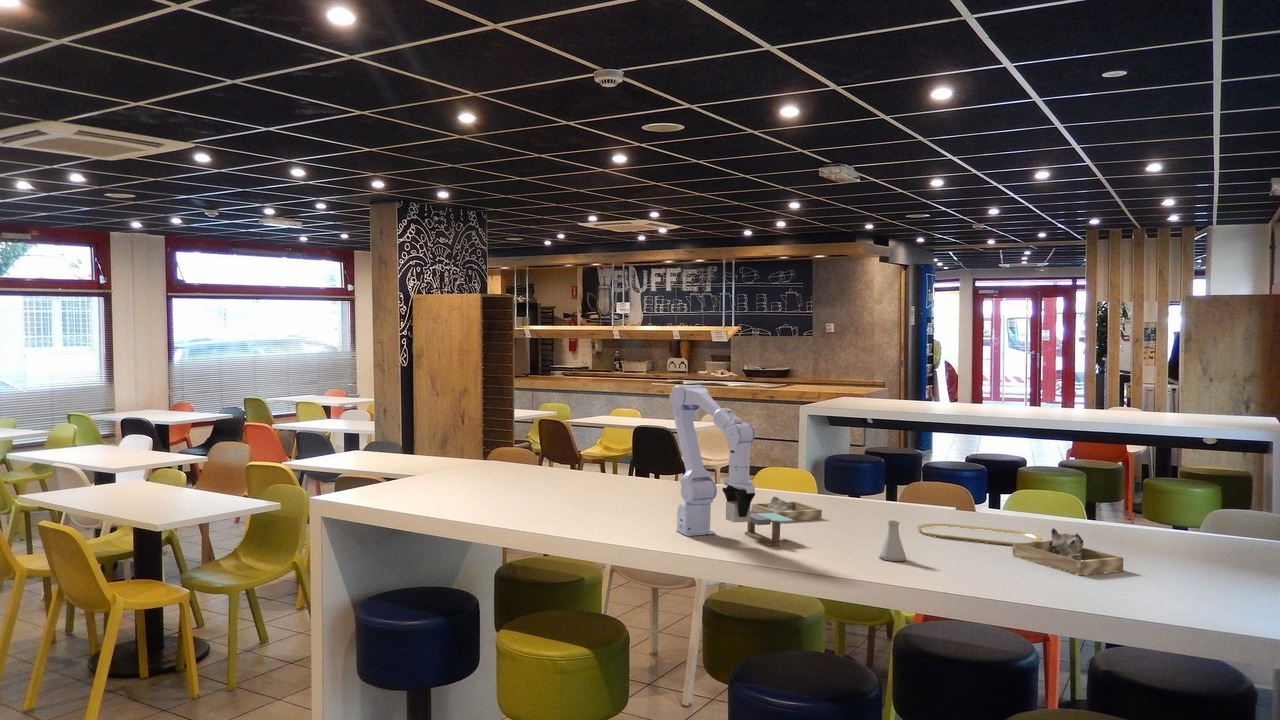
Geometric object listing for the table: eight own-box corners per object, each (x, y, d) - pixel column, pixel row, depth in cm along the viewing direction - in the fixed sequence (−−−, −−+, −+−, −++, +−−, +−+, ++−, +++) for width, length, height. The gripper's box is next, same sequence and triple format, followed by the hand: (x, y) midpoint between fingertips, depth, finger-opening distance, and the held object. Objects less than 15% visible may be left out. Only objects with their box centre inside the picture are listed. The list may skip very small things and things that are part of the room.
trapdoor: (759, 525, 248) (759, 520, 248) (739, 517, 259) (739, 512, 259) (793, 523, 252) (794, 518, 252) (772, 516, 263) (772, 510, 263)
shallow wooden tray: (1079, 575, 222) (1080, 561, 222) (1012, 555, 242) (1012, 543, 242) (1123, 571, 228) (1123, 557, 228) (1053, 552, 248) (1054, 539, 248)
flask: (875, 555, 240) (876, 518, 240) (902, 556, 239) (903, 519, 239) (882, 561, 232) (883, 523, 232) (910, 562, 232) (911, 524, 232)
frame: (773, 546, 247) (773, 522, 247) (743, 534, 263) (744, 511, 262) (781, 545, 248) (782, 521, 248) (751, 533, 264) (752, 510, 263)
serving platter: (921, 526, 283) (922, 521, 283) (1042, 538, 268) (1042, 533, 268) (913, 537, 266) (913, 531, 266) (1040, 551, 251) (1041, 545, 251)
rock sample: (754, 504, 291) (772, 486, 293) (757, 516, 296) (775, 498, 299) (777, 522, 284) (796, 503, 287) (781, 534, 290) (798, 515, 293)
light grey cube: (734, 522, 246) (734, 504, 245) (725, 519, 250) (726, 501, 250) (750, 521, 247) (750, 503, 247) (741, 518, 252) (741, 500, 252)
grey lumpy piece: (1094, 568, 226) (1084, 529, 227) (1055, 573, 229) (1046, 534, 230) (1085, 557, 241) (1076, 520, 242) (1049, 562, 244) (1040, 526, 245)
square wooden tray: (776, 521, 282) (776, 512, 282) (751, 512, 297) (751, 503, 297) (821, 519, 289) (821, 509, 289) (795, 510, 304) (795, 501, 304)
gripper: (764, 469, 243) (763, 519, 244) (739, 462, 257) (738, 509, 257) (742, 470, 241) (740, 520, 241) (717, 463, 254) (716, 510, 254)
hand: (737, 514), depth 249 cm, fingers closed on light grey cube, 5 cm apart
